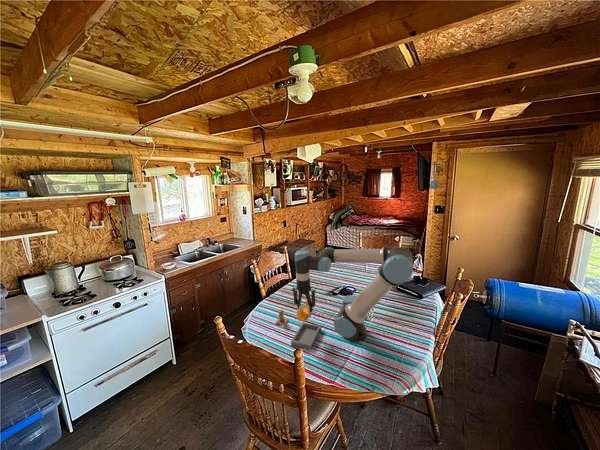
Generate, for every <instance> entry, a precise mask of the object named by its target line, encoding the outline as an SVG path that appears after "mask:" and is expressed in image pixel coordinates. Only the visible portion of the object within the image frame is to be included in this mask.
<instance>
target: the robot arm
mask: <svg viewBox="0 0 600 450" xmlns="http://www.w3.org/2000/svg"><path fill="white" fill-rule="evenodd" d="M294 263H295V265H294V266H295V277H296V286H293V287H292V289H291V290H292V294H293V304H294V305H296V306H297V310H298V309H303V304H302V298H303V295H304V296H305V298H306V301H308V305H309V307H308V317H309V318H308V319H310V318H311V317H312V312H313V311H314V309H313V308H314V307H315V306H316V291H317V290H316V289H315V288H314V289H313V288H312V286H311V279H310V278H311V275H310V271H316V272H321V273H328V272H330V270H331V268H332V263H333V264H335V263H336V264H337V263H338V264H339V263H341V264H343V263H344V264H347V263H348V264H381V265H380V266H379V267H378V268H377V275H376V276H374V278H373V279H372V280H371V282H369V283H368V285H366V286H365V288H364V289H363V290H362V291H361V292H360V293H359V294H358V295H354V294H349V295H345V296H343V297H342V306H341V308H340V310H339V312H338V313H337V315H336V317H335V318H334V321H333V328H334V330H335V332H336V333H337V334H338V335H339V336H341V337H342V338H343V339H344V340H346V341H349V342H354V343H358V342H362V341H364V340H365V339H366V338H367V335H368V332H367V331H368V330H367V328H366V325H365V323H364V322H365V320H366V319H365V316H366V315H368V313H369V312H370V311H371V310H372V309H373V308H374V307H375V306H376V305H377V304H378V303H379V302H380V301H381V300H382V299H383V298H384V296H386V294H387V293H388V292H389V291H390V290H391V289H393V288H398V287H399V286H400V285H401V284H404V283H406V282H407V281H409V280H410V279H411V277H412V275H413V271H414V256H413V254H412V253H411V251H410V250H409V249H407V248H405V247H402V246H382V248H353V249H351V248H350V249H349V248H347V249H346V248H345V249H344V248H343V249H340V248H339V249H334V248H333V247H330V246H329V247H326V248H324V249H323V250H322V251H321V252H320V253H319V254H318V255H315V256H313V255H310V254H309V251H307V250H298V251H296V252H295V253H294Z"/></svg>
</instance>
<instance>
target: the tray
mask: <svg viewBox="0 0 600 450" xmlns="http://www.w3.org/2000/svg"><path fill="white" fill-rule="evenodd" d="M321 332H322V325H318V324H313V323H308V322H302V323H301V324H300V326H299V328H298V329H297V330H296V332H295V333H294V335H293V336H292V338H291V340H290V344H291V345H290V346H292V347H296V348H300V349H304V348H306V349H305V350H309V351H312V350H313V348H314V346H315V343H316V341H317V340H318V338H319V336H320V333H321Z"/></svg>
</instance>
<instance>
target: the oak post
mask: <svg viewBox="0 0 600 450" xmlns="http://www.w3.org/2000/svg"><path fill="white" fill-rule="evenodd" d="M278 317H279V318H278V319H277V320H276V321H275V325H279V326H283V327H284V326H285V325H286V324H287V322H288V321H289V318H285V317H284V310H283V309H280V310H278Z"/></svg>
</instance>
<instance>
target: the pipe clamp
mask: <svg viewBox="0 0 600 450" xmlns="http://www.w3.org/2000/svg"><path fill="white" fill-rule="evenodd" d="M308 307H309V305H308V301H307V300H305V306H304V309H303V308H302V309H298V308H297V310H296V313H297V321H298V322H302V323H303V322H304V323H306V322H307V320H308V319H310V318H309V317H308Z"/></svg>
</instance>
